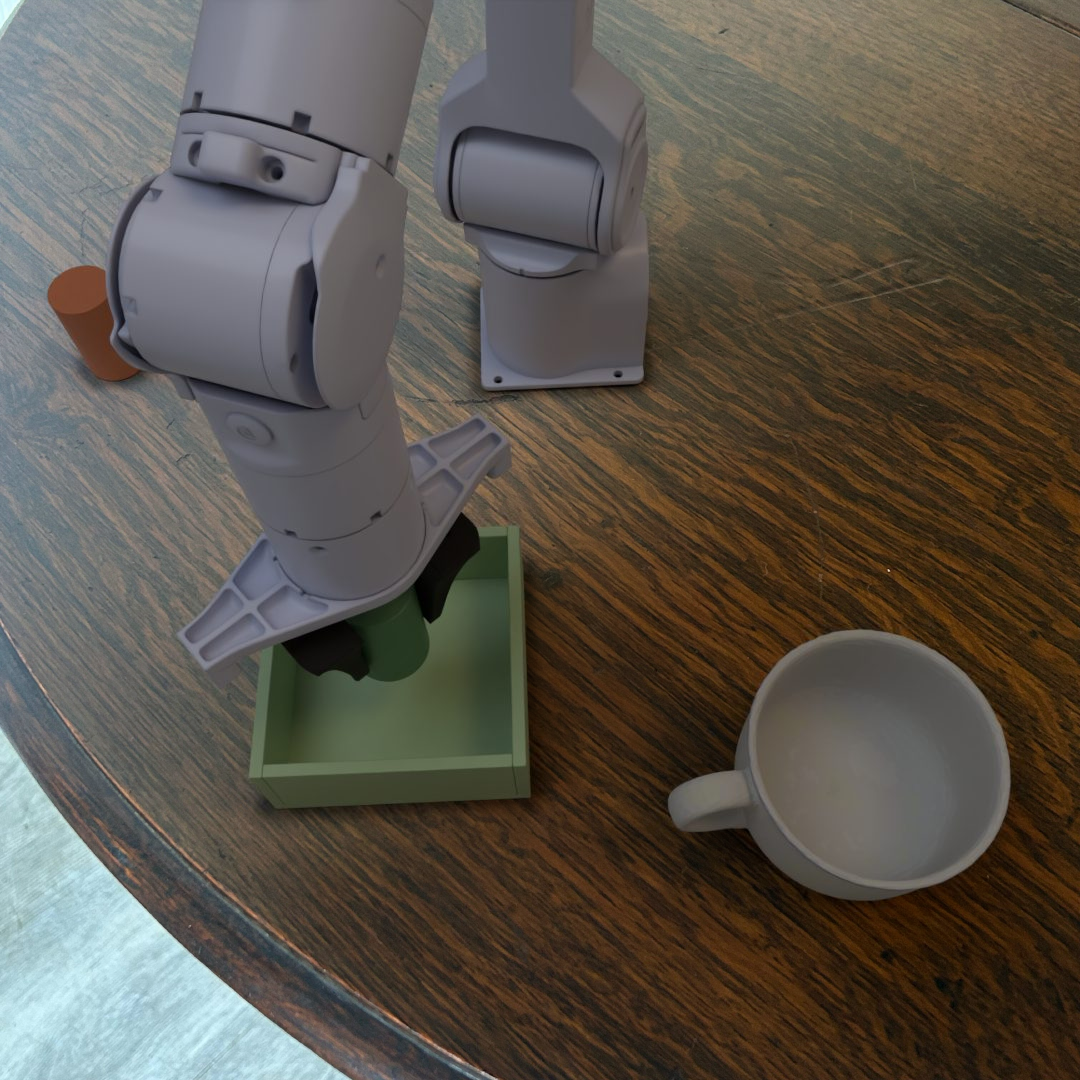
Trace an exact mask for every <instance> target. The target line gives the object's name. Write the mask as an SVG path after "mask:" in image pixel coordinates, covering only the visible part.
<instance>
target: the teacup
mask: <svg viewBox="0 0 1080 1080" xmlns="http://www.w3.org/2000/svg"><path fill="white" fill-rule="evenodd" d="M1010 762H1011V761H1010V755H1009V750H1008V746H1007V741H1006V738H1005V733H1004V731H1003V728H1002V725H1001V724H1000V722H999V720H998V717H997V716H996V714H995V711H994V709H993V708H992V706H991V704H990V702H989V701H988V700H987V698H986V697H985V695H984V693H983V692H982V691H981V689H979V687H978V686H977V685H976V683H974V682H973V680H972V679H971V678H970V677H969V675H967V673H966V672H964V671H963V670H962V669H961V668H960V667H959V666H958V665H956V664H955V663H954V662H952V661H951V660H949V659H948V658H947V657H946V656H944V655H942V654H941V653H939V652H938V651H937V650H935V649H932V648H930V647H928V646H926V645H925V644H924V643H921V642H919V641H916V640H914V639H911V638H908V637H906V636H903V635H900V634H895V633H892V632H887V631H881V630H874V629H873V630H872V629H858V628H857V629H850V630H849V629H847V630H839V631H831V632H829V633H826V634H823V635H819V636H817V637H816V638H814V639H810V640H808V641H806V642H803V643H802V644H799V645H798V646H797V647H795V648H793V649H791V650H790V651H789V652H787V653H786V654H785V655H784V656H783V657H781V658H780V659H779V660H778V661H777V662H776V663H775V665H774V666H773V667H772V668H771V669H770V671H769V672H768V674H767V675H766V676H765V677H764V679H763V681H762V682H761V684H760V686H759V688H758V689H757V691H756V692H755V695H754V697H753V700H752V703H751V706H750V710H749V713H748V715H747V717H746V719H745V722H744V723H743V727H742V729H741V732H740V734H739V738H738V741H737V746H736V751H735V756H734V767H733V769H734V770H727V771H726V770H725V771H719V772H713V773H709V774H704V775H700V776H698V777H695V778H692V779H690V780H687V781H685V782H683V783H680V784H679V785H678V786H676V787H675V788H674V789H673V790H672V791H671V792H670V793H669V795H668V798H667V808H668V812H669V815H670V818H671V820H672V822H673V824H674V825H675V827H676V828H677V829H679V830H680V831H683V832H686V833H702V832H703V833H704V832H711V831H712V832H713V831H721V830H727V829H739V830H740V829H747V830H748V831H749V834H750V835H751V837H752V838H753V840H754V841H755V843H756V844H757V846H758V847H759V849H760V850H761V851H762V853H763V854H764V855H765V856H766V857H767V859H768V860H769V861H770V862H771V863H772V864H773V865H774V866H775V867H776V868H778V869H779V870H780V872H782V873H784V874H785V875H786V876H787V877H789V878H790V879H792V880H793V881H795V882H797V883H798V884H800V885H801V886H803V887H806V888H807V889H810V890H812V891H814V892H816V893H819V894H822V895H825V896H828V897H833V898H836V899H840V900H847V901H858V902H859V901H861V902H862V901H863V902H864V901H865V902H866V901H869V902H870V901H881V900H886V899H891V898H896V897H899V896H903V895H907V894H909V893H912V892H914V891H918V890H920V889H926V888H928V887H929V888H930V887H932V886H936V885H940V884H942V883H945V882H946V881H948V880H950V879H952V878H955V877H956V876H958V875H959V874H961V873H963V872H964V871H965V870H967V869H968V868H969V867H971V866H972V865H973V864H974V863H976V862H977V860H978V859H979V858H980V857H982V856H983V855H984V853H986V852H987V850H988V849H989V847H990V845H991V844H992V843H993V841H994V840H995V838H996V837H997V834H998V833H999V831H1000V829H1001V827H1002V826H1003V822H1004V821H1005V820H1004V819H1005V817H1006V814H1007V811H1008V806H1009V801H1010V794H1011V785H1012V783H1011V782H1012V780H1011V767H1010V766H1011V763H1010Z"/></svg>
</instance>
